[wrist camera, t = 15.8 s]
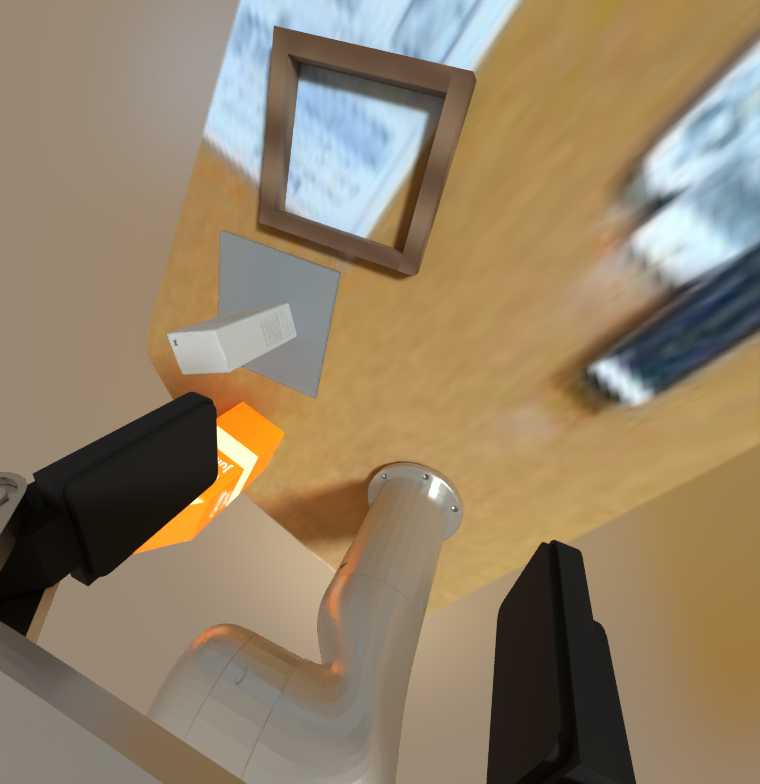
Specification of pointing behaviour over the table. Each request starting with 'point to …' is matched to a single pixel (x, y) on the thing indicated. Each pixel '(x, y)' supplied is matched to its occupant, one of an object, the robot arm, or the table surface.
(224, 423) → the orange juice
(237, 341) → the skincare box
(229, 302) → the rubber mat
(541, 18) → the table surface
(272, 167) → the brown square frame
